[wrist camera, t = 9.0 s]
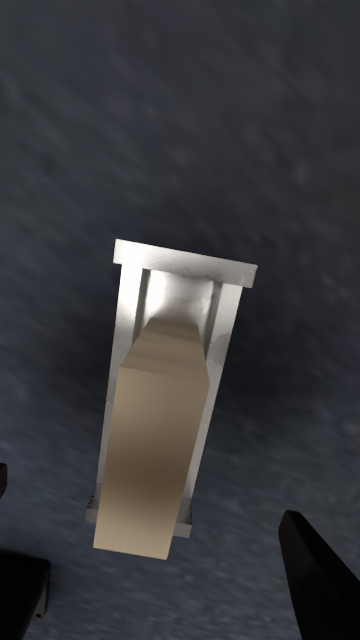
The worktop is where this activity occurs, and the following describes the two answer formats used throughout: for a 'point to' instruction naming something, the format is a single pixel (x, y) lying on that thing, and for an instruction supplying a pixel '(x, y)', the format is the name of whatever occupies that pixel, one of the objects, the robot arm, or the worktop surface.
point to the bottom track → (180, 307)
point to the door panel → (152, 439)
